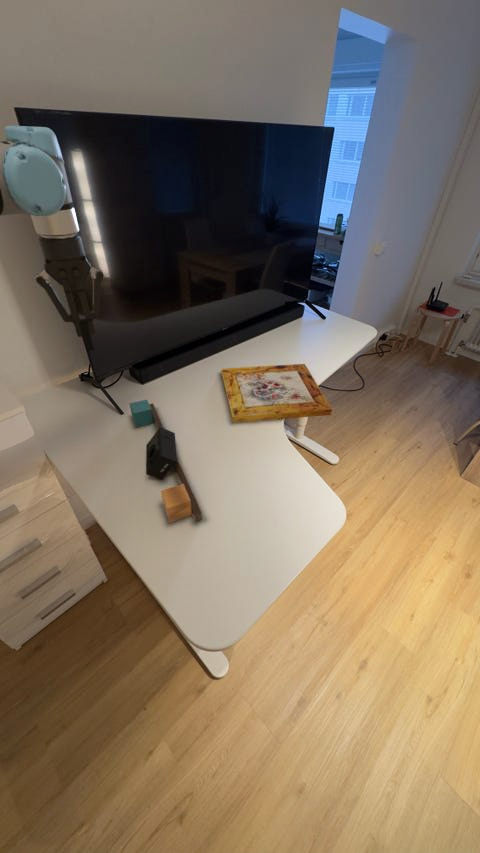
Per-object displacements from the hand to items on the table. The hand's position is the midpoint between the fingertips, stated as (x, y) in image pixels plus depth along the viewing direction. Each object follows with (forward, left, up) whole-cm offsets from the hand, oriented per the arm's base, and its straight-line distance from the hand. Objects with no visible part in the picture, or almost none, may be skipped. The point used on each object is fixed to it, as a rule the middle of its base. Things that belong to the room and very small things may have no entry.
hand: (90, 347), depth 80 cm
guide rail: (+12, -18, -24) cm, 32 cm away
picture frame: (+50, -2, -25) cm, 56 cm away
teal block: (+9, 0, -24) cm, 26 cm away
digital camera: (+7, -19, -23) cm, 30 cm away
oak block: (+9, -34, -24) cm, 43 cm away
